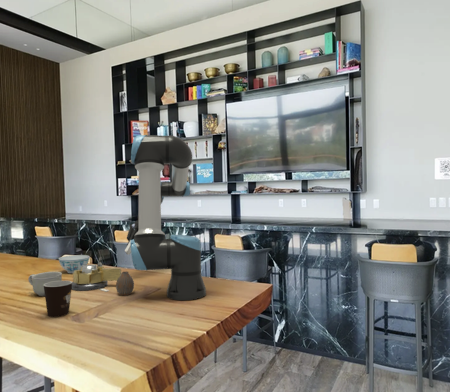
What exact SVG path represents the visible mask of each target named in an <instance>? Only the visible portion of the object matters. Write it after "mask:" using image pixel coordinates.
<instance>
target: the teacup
mask: <svg viewBox="0 0 450 392" xmlns="http://www.w3.org/2000/svg"><path fill="white" fill-rule="evenodd" d="M62 275H63V273H62V272H60V271H46V272H40V273H36V274H30V275H29V276H28V283H29V284H30V285H31V286H32V290H33V292H34V293H35V294H36V295H38V296H40V297H45V292H44V284H46V283H49V282H54V281H63V278H62Z"/></svg>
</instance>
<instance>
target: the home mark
mask: <svg viewBox="0 0 450 392" xmlns="http://www.w3.org/2000/svg"><path fill="white" fill-rule="evenodd" d="M98 290H99V291H102V292H110V290H109V289H106V288H101V289H98Z"/></svg>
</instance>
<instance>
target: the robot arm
mask: <svg viewBox="0 0 450 392" xmlns="http://www.w3.org/2000/svg"><path fill="white" fill-rule="evenodd" d="M130 154H131V156H130V162H131V164H132V165H134V168H135V169H136V171H137V172H138V215H137V218H136V219H137V220H136V221H135V222H134V223H133V224H132V223H129V225H128V226H129V229H128V232H127V235H126V240H127V241H128V242H127V244H126V247H125V249H124V252H125V253H126V255H129V256H130V255H131V262H132V266H133V268H134V269H135V270H137V271H155V270H156V271H157V270H170V273H171V274H170V279H169V282H168V285H167V289H166V297H167V298H168V299H170V300H175V301H191V300H193V299H194V300H198V299H197V298H199V299H202V298H204V297H205V296H207V289H206V288H207V287H206V285H205V283H204V279H203V276H202V258H201V257H202V253H201V251H202V246H201V240H200V239H199V237H196V236H192V235H187V234H186V235H185V234H171V235H170V238H166V234H165V232H164V231H162V213H161V212H162V211H161V209H162V208H161V207H162V204H163V201H164V197H188V196H189V197H190V194H191V186H190V185H191V184H190V182H189V181H188V176H189V168H190V166H191V164H192V162H193V152H192V150H191V148H190V146H189V145H188V143H186V142H185V141H184V140H183V139H182V138H181V137H178V136H175V135H157V134H155V135H154V134H152V135H150V134H149V135H148V134H144V135H136V136H135V137H134V138H133V141H132V145H131V153H130ZM165 165H171V181H161V172H162V171H163V170H164V169H165ZM203 296H204V297H203ZM201 297H202V298H201Z"/></svg>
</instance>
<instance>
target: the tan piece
mask: <svg viewBox="0 0 450 392" xmlns="http://www.w3.org/2000/svg"><path fill="white" fill-rule="evenodd" d="M102 266H103V265H102ZM102 266H100V267H98V269H97V270H92V273H82V267H81V270H74V272H73V273H72V275H73V277H72V282H74V283H77V284H90V283H97V282H101V281H108V282H114V281H116V282H117V280H118V278H119V277H120V275H121V273H122V267H104V266H103V267H102Z"/></svg>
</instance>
